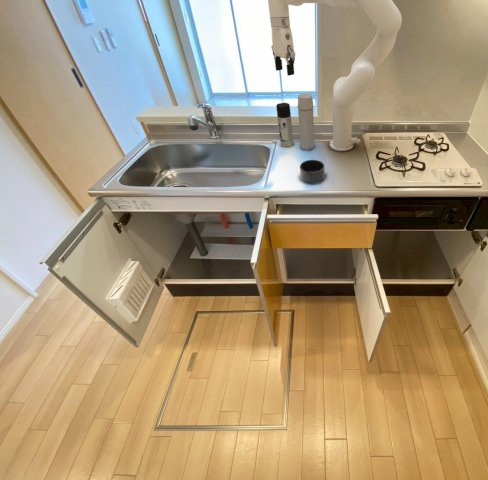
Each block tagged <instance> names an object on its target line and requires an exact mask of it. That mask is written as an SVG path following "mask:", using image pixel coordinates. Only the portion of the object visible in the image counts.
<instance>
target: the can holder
mask: <svg viewBox="0 0 488 480" xmlns="http://www.w3.org/2000/svg"><path fill="white" fill-rule="evenodd" d="M299 173H300V174H299V175H300V180H301V181H302V182H304V183H306V184H309V185H310V184H311V185H312V184H313V185H315V184H320V183H321V182H323V181H324V180H325V177H326V176H325V164H324V162H323V161H321V160H318V159H307V160H304V161H303V162H301V163H300V164H299Z"/></svg>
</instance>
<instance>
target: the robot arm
mask: <svg viewBox="0 0 488 480" xmlns="http://www.w3.org/2000/svg"><path fill="white" fill-rule="evenodd" d="M267 3H268V12H269V21H270V28H271V41H272V45H271V51H272V56H273V59H274V66H275V67H274V68H275V71H282V70H283V69H284V68H283V60H282V59H285V61H286V74H287V76H288V77H289V76H294V75H295V61H296V52H295V45H294V39H293V33H292V28H291V21H290V10H289V9H290V8H289V6H295V7H299V6H300V7H301V6H302V5H303V4H322V5H326V6H328V7H331V8H362V9H363V12H365V14H366V16H367V17H368V18H369V19H370V21H371V23H372V24H373V25H374V26H375V28H376V32H375V36H374V37H373V39H372V40H371V42H370V43H369V44H368V46H367V47H366V48H365V49H364V50H363V52H361V54H360V55H359V56H358V57H357V58H356V60H354V62H353V63H352V65H351V69H350V73H348V75H347V76H341V77H338V78H337V79H336V80H335V82H334V84H333V89H332V96H333V97H332V140H330V142H329V148H330V149H332V150H333V151H338V152H347V151H350V150H351V149H353V148H354V144H360V143H361V139H360V138H358V137H353V136H352V130H353V114H354V104H355V103H356V101H358V100H359V99H360V98H361V96H362V95H364V93H365V92H366V91H368V89H369V88H370V87H371V85H372V84H373V82H374V81H375V77H376V70H377V69H378V68H379V67H380V66H381V64H382V63H383V62H384V61H385V60H386V59H387V57H388V56H389V54H390V53H391V52H392V50H393V48H394V46H395V43H396V40H397V38H398V32H399V31H400V30H401V28H402V23H403V22H402V21H403V17H402V13H401V11H400V9H399V8H398V7H397V5H396V4H395V3H394V1H393V0H267Z"/></svg>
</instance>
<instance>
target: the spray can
mask: <svg viewBox="0 0 488 480" xmlns="http://www.w3.org/2000/svg"><path fill="white" fill-rule="evenodd" d="M275 107H276V116H277V124H278V132H279V139H280V140H279V141H280V146H282V147H283V148H290V147H292V146H293V145H294V137H293V123H292V112H291V105H290V103H288V102H279V103H277V104H276V105H275Z"/></svg>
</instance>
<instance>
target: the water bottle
mask: <svg viewBox="0 0 488 480" xmlns="http://www.w3.org/2000/svg"><path fill="white" fill-rule="evenodd" d="M313 99H314V98H313V94H311V93H299V94H298V96H297V106H296V108H297V115H298V127H299V139H300V147H301V149H302V150H305V151H309V150H312V149H314V148H315V128H314V127H315V125H314V123H315V122H314V107H315V106H314V100H313Z"/></svg>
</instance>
